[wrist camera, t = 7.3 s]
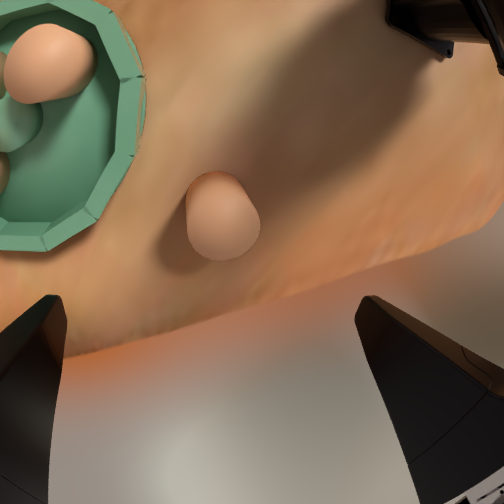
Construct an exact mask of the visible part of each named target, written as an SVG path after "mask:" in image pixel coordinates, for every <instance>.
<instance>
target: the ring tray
mask: <svg viewBox="0 0 504 504" xmlns="http://www.w3.org/2000/svg"><path fill="white" fill-rule="evenodd" d="M41 24H55V25H58V26H60V27H63V28H65V29H67V30H70V31H72V32H74V33H76V34H78V35H81V36H83V37H85V38H87V39H89V40H90V41H91V42H92V43H93V44H94V46H95V48H96V50H97V54H98V65H97V69H96V73H95V75H94V77H93V79H92V80H91V82H90V83H89V84H88V85H87V87H86V88H85V89H83V90H82V91H81V92H79V93H78V94H76V95H74V96H71V97H68V98H61V99H55V100H49V101H43V102H38V103H33V104H24V103H20V102H18V101H16V100H15V99H13V98H12V97H11V96H10V95H9V93H8V91H6V93H5V95H4V96H3V98H2V99H1V100H0V151H1V152H6V154H7V156H8V159H9V163H10V178H9V182H8V185H7V187H6V188H5V190H4V191H3V192H2V193H1V194H0V250H14V251H40V252H46V251H47V250H48V251H49V250H51V249H52V248H54V247H56V246H57V245H59V244H60V243H62V242H63V241H65V240H67V239H68V238H70V237H72V236H73V235H75V234H76V233H78V232H80V231H81V230H83V229H85V228H86V227H88V226H90V225H92V224H93V223H95V222H97V220H98V219H99V218H100V216H101V214H102V212H103V210H104V209H105V207H106V205H107V203H108V201H109V200H110V198H111V196H112V195H113V194H114V192H115V191H116V189H117V188H118V186H119V185H120V183H121V182H122V180H123V179H124V177H125V175H126V173H127V171H128V169H129V168H130V166H131V164H132V162H133V159H134V158H135V156H136V154H137V153H138V150H139V148H140V140H141V136H142V132H143V128H144V122H145V116H146V100H147V93H146V79H145V76H146V75H145V73H144V70H143V65H142V61H141V59H140V56H139V53H138V50H137V48H136V46H135V44H134V42H133V40H132V39H131V37H130V35H129V34H128V32H127V31H126V30H125V29H124V26H123V24H122V22H121V20H120V18H119V17H118V16H117V15H116V14H115V13H114V12H113V11H112V10H111V9H109V8H107V7H105V6H103V5H101V4H99V3H97V2H95V1H93V0H2V1H0V51H1V52H4V53H5V54H6V55H8V53H9V51H10V49H11V48H12V46H13V45H14V43H15V42H16V41H17V40H18V38H19V37H20V36H21V35H23V34H24V33H25V32H26V31H28V30H29V29H31V28H33V27H35V26H38V25H41Z"/></svg>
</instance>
